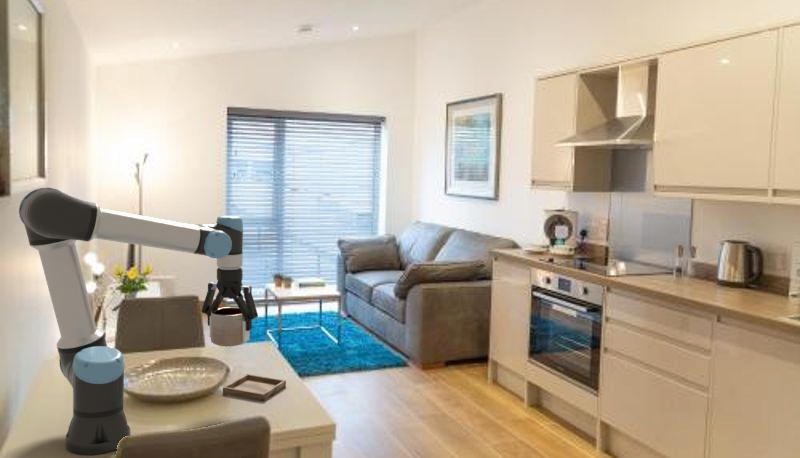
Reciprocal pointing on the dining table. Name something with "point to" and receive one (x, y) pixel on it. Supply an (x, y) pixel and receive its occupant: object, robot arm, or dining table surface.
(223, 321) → the planter
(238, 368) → the dining table surface
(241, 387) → the tray
